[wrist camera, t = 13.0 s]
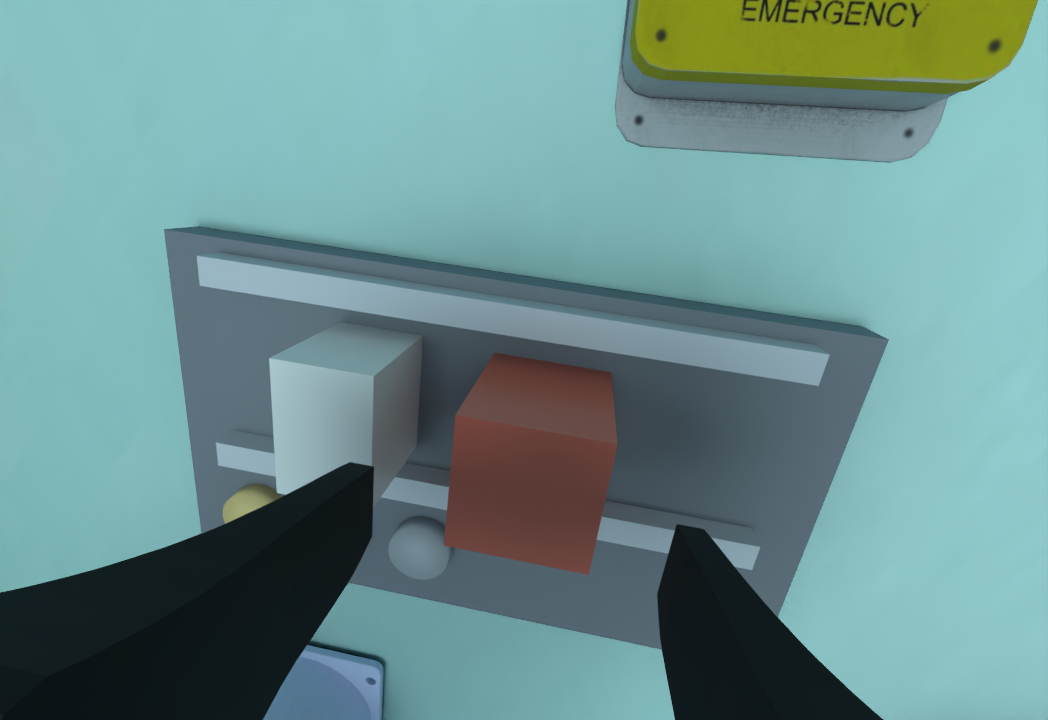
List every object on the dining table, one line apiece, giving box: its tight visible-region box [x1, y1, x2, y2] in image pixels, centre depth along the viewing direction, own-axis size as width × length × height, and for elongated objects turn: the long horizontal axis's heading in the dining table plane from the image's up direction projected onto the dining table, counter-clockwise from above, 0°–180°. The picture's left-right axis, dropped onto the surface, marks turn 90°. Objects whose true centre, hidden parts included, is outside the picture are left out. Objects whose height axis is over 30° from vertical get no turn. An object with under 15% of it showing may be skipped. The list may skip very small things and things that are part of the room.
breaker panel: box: [164, 227, 888, 649], centre depth 18 cm, size 14×24×2 cm, turn 83°
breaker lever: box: [269, 322, 423, 508], centre depth 16 cm, size 4×3×4 cm
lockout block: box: [444, 353, 618, 575], centre depth 15 cm, size 4×4×5 cm
